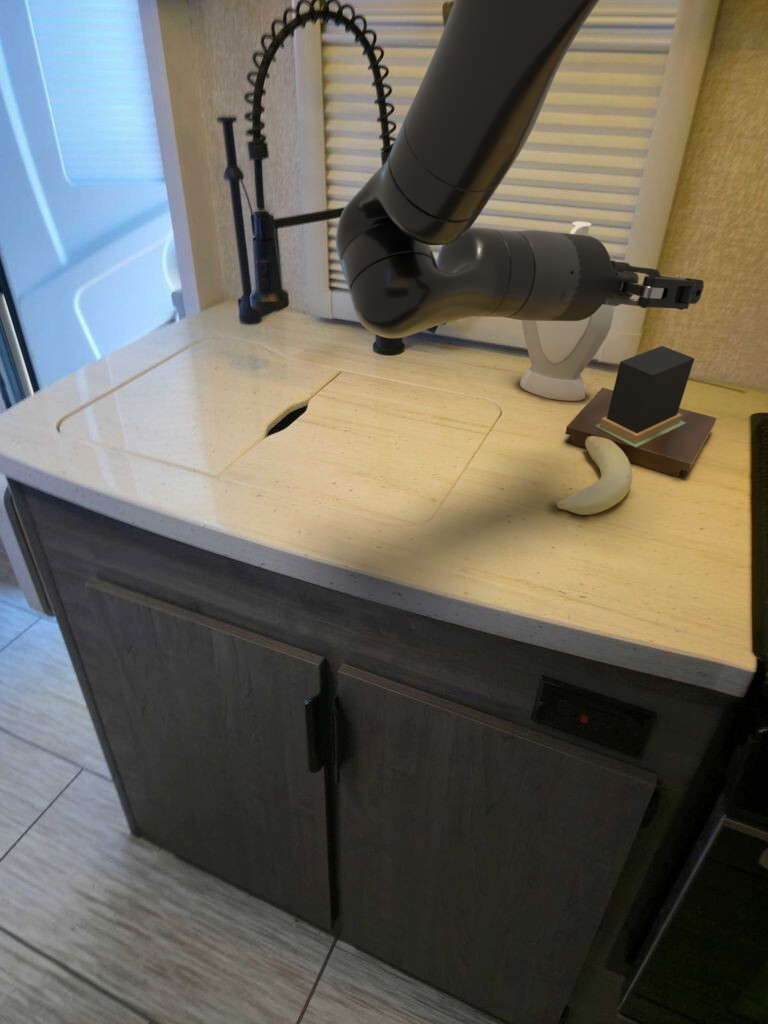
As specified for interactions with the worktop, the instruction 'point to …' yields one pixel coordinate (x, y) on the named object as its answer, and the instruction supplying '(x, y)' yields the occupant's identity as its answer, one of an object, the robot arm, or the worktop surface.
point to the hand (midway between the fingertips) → (662, 284)
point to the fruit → (602, 479)
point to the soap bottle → (563, 349)
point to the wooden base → (655, 452)
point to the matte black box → (648, 394)
